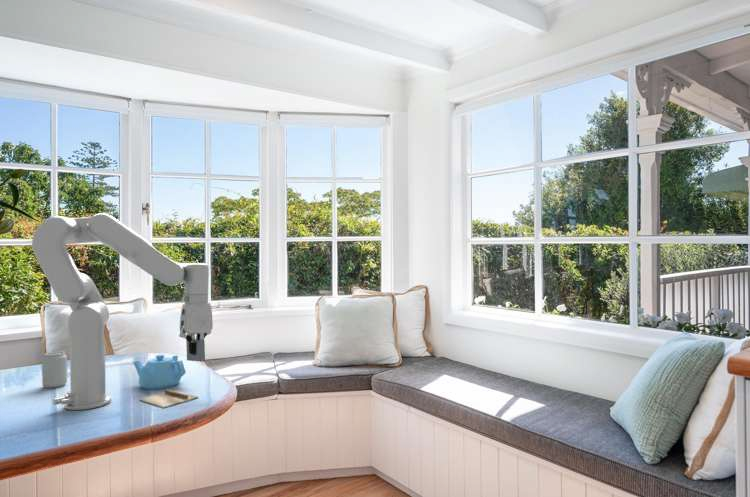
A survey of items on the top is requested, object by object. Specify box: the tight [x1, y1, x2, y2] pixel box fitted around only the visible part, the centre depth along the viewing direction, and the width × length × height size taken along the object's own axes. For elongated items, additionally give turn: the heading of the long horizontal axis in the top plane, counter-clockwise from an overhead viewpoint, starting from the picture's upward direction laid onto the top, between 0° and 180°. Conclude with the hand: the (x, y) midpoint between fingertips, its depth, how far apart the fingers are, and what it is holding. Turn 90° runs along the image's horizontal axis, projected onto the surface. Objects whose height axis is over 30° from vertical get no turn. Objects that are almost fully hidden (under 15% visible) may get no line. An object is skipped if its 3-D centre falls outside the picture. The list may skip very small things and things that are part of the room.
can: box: [41, 350, 68, 389], centre depth 174 cm, size 8×8×12 cm
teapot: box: [133, 354, 186, 390], centre depth 173 cm, size 15×15×11 cm
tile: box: [185, 338, 206, 362], centre depth 163 cm, size 2×8×7 cm, turn 54°
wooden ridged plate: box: [139, 388, 199, 409], centre depth 156 cm, size 12×14×2 cm
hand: (195, 353), depth 163 cm, fingers closed on tile, 1 cm apart
